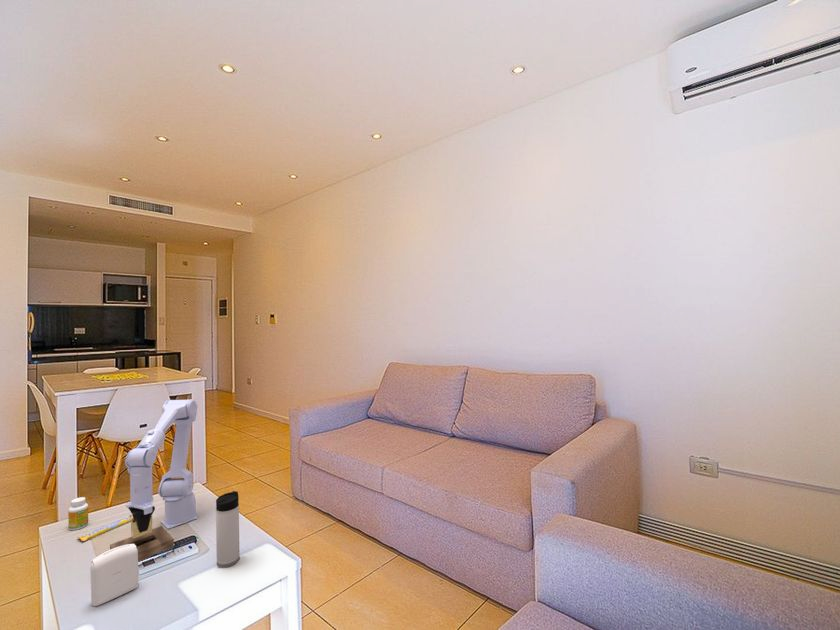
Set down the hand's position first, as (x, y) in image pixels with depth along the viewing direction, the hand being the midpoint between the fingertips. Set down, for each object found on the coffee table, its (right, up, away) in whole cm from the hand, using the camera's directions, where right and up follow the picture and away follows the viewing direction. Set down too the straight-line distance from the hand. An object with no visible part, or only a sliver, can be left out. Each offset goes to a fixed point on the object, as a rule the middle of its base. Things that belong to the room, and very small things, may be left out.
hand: (142, 529), depth 124 cm
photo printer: (+6, -8, -18) cm, 21 cm away
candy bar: (-23, -9, +15) cm, 29 cm away
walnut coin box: (0, -8, 0) cm, 8 cm away
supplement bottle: (-35, -9, +17) cm, 40 cm away
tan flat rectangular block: (0, -1, 0) cm, 1 cm away
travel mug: (+29, -8, -4) cm, 31 cm away
